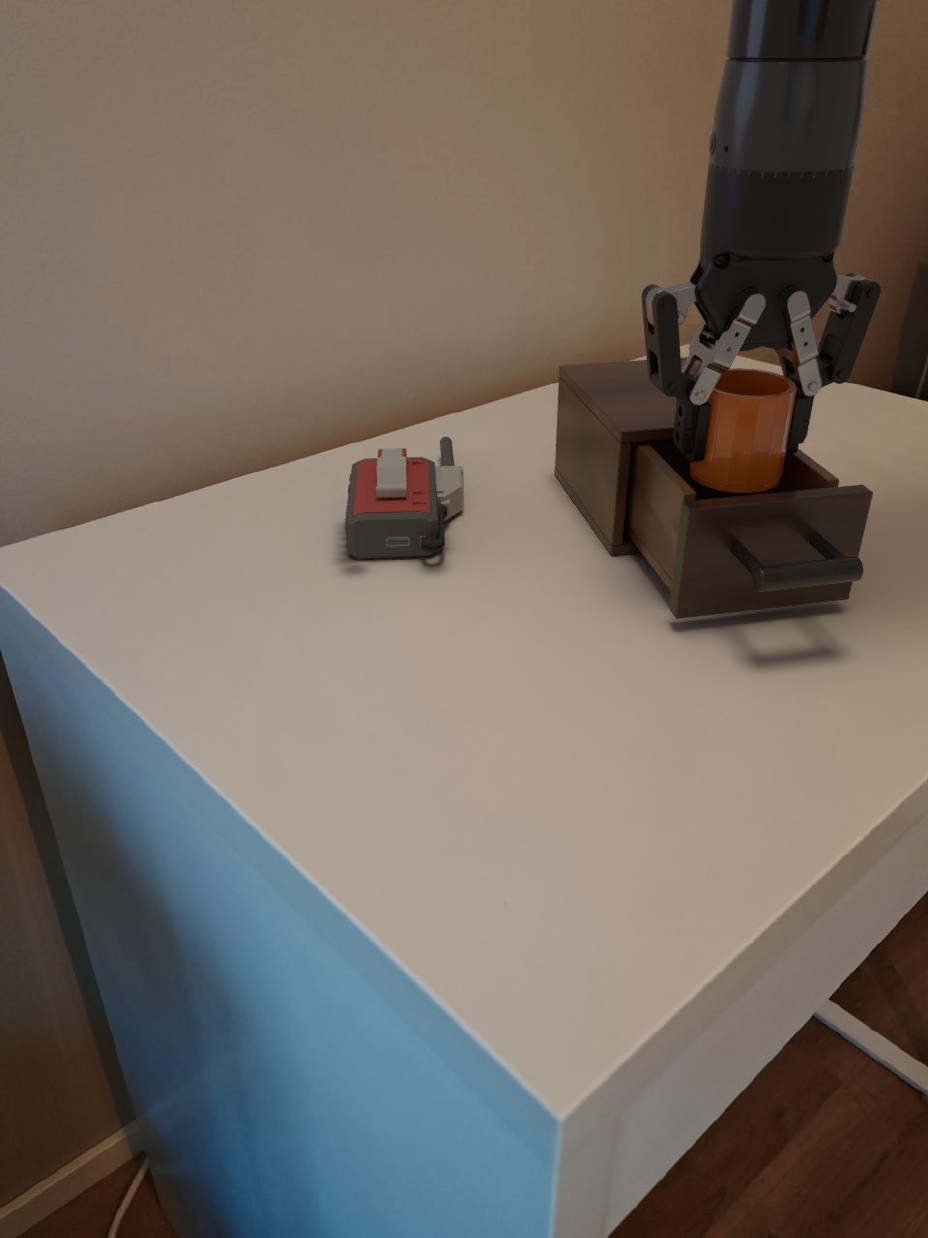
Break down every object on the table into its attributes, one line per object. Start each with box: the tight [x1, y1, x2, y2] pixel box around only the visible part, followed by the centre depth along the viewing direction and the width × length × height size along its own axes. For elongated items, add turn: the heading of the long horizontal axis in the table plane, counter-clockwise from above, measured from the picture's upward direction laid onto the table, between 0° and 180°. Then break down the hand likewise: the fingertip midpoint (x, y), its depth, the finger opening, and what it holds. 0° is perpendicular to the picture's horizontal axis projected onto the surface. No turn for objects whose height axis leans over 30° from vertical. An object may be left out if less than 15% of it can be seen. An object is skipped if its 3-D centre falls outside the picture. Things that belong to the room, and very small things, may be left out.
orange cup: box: [689, 367, 797, 493], centre depth 60 cm, size 6×6×6 cm
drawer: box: [624, 439, 874, 620], centre depth 61 cm, size 18×11×7 cm, turn 11°
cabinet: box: [554, 356, 732, 557], centre depth 72 cm, size 15×13×9 cm
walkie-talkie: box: [344, 436, 465, 559], centre depth 73 cm, size 9×4×20 cm
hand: (738, 452), depth 60 cm, fingers closed on orange cup, 5 cm apart
